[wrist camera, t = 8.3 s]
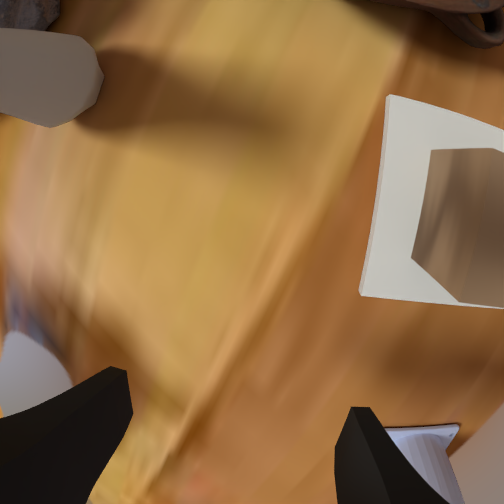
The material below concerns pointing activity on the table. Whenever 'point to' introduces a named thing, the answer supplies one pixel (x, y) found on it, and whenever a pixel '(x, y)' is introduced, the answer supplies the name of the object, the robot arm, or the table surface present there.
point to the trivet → (412, 195)
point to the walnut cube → (464, 224)
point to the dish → (464, 18)
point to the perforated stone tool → (28, 14)
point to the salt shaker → (47, 76)
